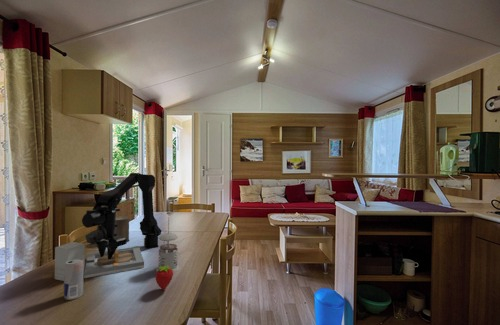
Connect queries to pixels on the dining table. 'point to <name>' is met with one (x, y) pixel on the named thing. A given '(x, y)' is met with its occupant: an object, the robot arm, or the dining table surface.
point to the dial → (114, 258)
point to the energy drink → (73, 279)
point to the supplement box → (67, 257)
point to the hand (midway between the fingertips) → (105, 258)
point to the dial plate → (96, 270)
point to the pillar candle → (122, 227)
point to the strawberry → (164, 276)
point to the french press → (168, 257)
